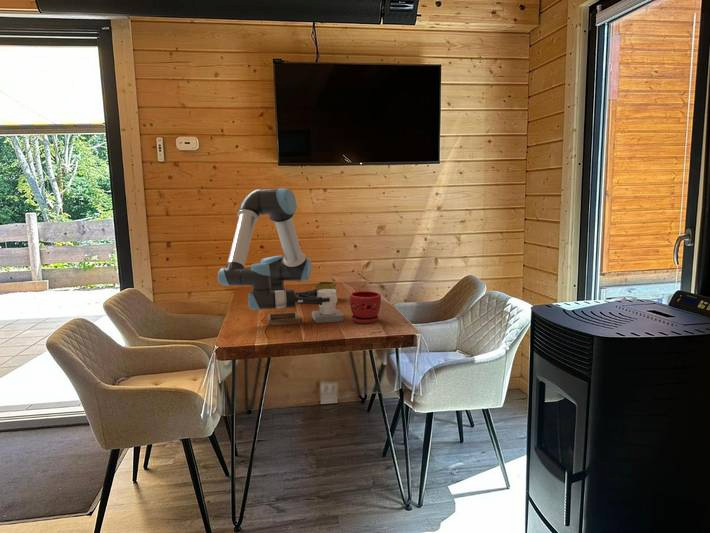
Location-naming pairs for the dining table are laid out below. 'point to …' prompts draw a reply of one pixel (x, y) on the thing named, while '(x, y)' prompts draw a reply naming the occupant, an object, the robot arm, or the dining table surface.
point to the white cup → (327, 307)
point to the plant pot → (365, 306)
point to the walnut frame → (283, 321)
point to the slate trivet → (327, 317)
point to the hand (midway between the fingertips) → (334, 295)
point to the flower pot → (325, 285)
